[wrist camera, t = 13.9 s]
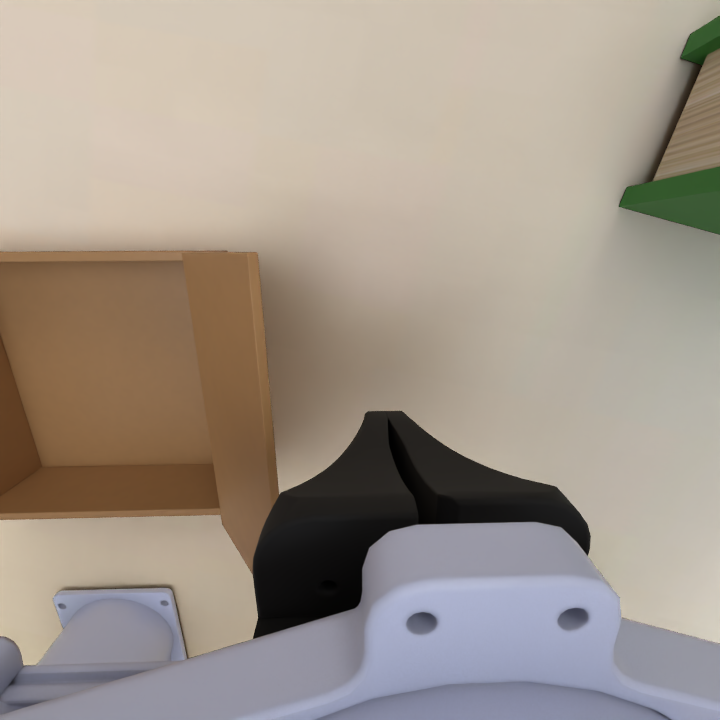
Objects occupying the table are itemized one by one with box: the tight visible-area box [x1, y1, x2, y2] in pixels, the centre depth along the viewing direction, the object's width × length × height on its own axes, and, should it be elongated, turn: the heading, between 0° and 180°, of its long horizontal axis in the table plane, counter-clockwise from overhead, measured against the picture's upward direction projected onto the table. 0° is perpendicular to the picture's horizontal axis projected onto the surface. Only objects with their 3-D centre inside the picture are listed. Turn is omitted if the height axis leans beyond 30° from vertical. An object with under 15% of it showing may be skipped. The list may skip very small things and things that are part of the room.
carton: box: [0, 251, 227, 520], centre depth 18 cm, size 13×13×4 cm
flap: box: [182, 252, 279, 574], centre depth 13 cm, size 6×13×1 cm
